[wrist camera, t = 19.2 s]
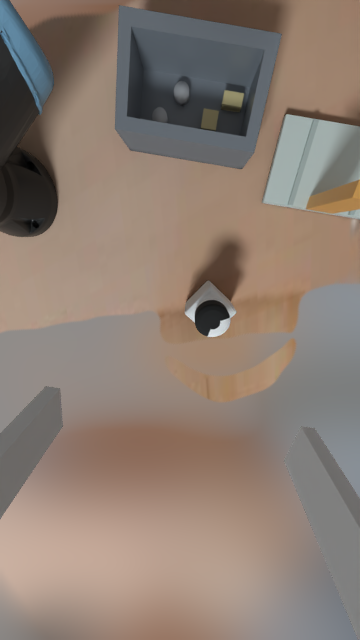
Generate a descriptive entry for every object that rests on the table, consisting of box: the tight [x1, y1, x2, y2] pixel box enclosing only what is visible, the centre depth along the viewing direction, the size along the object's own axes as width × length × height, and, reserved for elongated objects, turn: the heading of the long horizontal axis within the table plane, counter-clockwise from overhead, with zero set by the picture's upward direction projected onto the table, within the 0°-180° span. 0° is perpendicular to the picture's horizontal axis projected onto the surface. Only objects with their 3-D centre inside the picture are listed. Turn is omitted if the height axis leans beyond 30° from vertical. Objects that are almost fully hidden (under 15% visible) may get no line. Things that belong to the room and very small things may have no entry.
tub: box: [115, 5, 282, 169], centre depth 32 cm, size 20×12×8 cm, turn 81°
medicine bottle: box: [185, 280, 236, 337], centre depth 41 cm, size 7×7×12 cm
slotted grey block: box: [262, 114, 360, 219], centre depth 31 cm, size 20×12×14 cm, turn 81°
